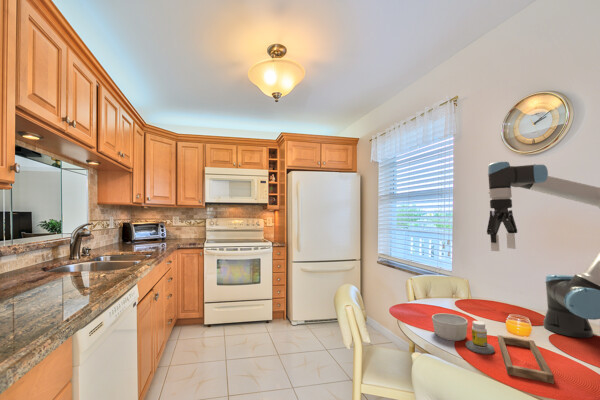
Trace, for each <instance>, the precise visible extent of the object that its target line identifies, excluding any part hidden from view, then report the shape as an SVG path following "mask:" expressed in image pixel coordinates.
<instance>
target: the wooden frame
mask: <svg viewBox="0 0 600 400" xmlns="http://www.w3.org/2000/svg"><path fill="white" fill-rule="evenodd" d="M497 342H498V347H499V349H500V353H501V358H502V359H503V360H502V361H503V363H504V366H505V367H504V368H505V370H506V373H507V375H510V376H515V377H519V378H524V379H527V380H528V379H529V380H533V381H538V382H543V383H547V384H553V385H554V384H555V381H554V380H555V379H554V374H553V372H552V370H551V369H550V367H549V366H548V363H547V362H546V360H545V357H544V356H543V355H542V353H541V351H540V350H539V348H538V346H537V344H536V343H535V341H534V340H531V339H524V338H519V337H512V336H505V335H499V334H497ZM508 344H509V345H508ZM506 345H508V346H514V345H515V346H516V347H521V348H527V349H529V350H530V351H531V353H532V355H534V356H533V357H535V358H534V360H535V359H536V360H535V361H536V363H537V365H538V367H539V369H535V368H534V369H533V368H530V367H529V368H528V367H525V366H523V367H522V366H518V365H513V363H512V361H511V356H510V353H509V352H508V348H507V346H506Z"/></svg>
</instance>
